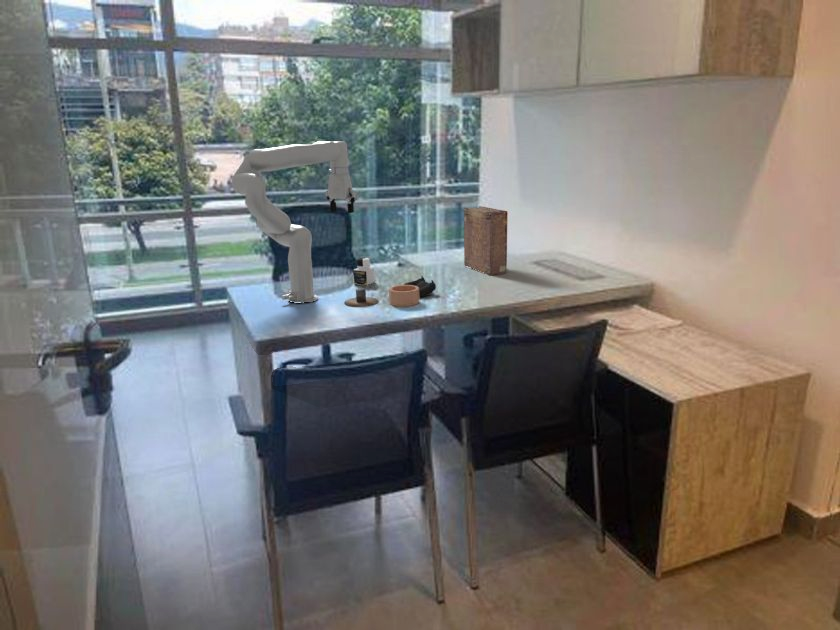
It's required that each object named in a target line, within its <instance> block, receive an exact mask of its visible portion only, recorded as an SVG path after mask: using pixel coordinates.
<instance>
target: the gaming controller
mask: <svg viewBox="0 0 840 630" xmlns="http://www.w3.org/2000/svg"><path fill="white" fill-rule="evenodd" d="M430 281H431V282H428V281H427V280H426V279H425V278H424V276H423V275H421V278H418V279H416V280H413V281H408V282H405V283H404V284H403V285H414V286H417V287H419V299H421V298H425V297H427V296H429V295H430V294H432V293H433V292H434V291H435V290H436V288H437V285H436V283H435V281H433V280H432V279H431V280H430Z"/></svg>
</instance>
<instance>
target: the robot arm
mask: <svg viewBox="0 0 840 630" xmlns="http://www.w3.org/2000/svg"><path fill="white" fill-rule="evenodd" d="M348 157H349V156H348V144H347V142H346V141H343V140H341V141H340V140H337V141H325V140H324V141H321V140H320V141H316V142H313V143H312V144H289V145H288V144H287V145H283V146H277V147H269V148H255V149H252V150H251V151H250V152H249V153H248V154H247V155H246V156H245V158H244V159H243V161H242V163H241V164H240V165H239V167H238V169H237V170H236V172H234V174H233V176H232V177H231V186H232V188H233V191H234V192H235V193H237V194H238V195H239V194H240V195H245V203H246V207H247V210H248V211H249V213H250V214H251V215H252V216H253V217H254V218H255V219H256V224H257V226H258V229H260V230H261V231H262V232H263V233H264V234H266V236H268V237H269V238H271V239H273V240H274V241H275V242H276V243H278V244H279V245H282V246H284V247H288V248H289V250H288V255H287V263H288V264H287V265H288V275H289V285H290V290H288V293H286V294H283V295H281V299H282V300H283V301H284V300H287V301H288V300H289V301H292V302H301V303H302V304H304V303H303V302H310V303H313V301H314V302H316V301H317V300H319V296H318V295H317V294H315V291H314V290H315V288H314V276H313V275H314V274H313V263H312V243H313V235H312V233H311V231H310V230H309V229H308V228H307V227H306V226H304V225H299V224H293V223H292V222H291V219H290V217H289V215H287V213H285V211H283V210H282V209H280V208H279V207H277V206H276V205H275V204H273V203H272V202H271V200H269V198H268V197H267V193H266V191H267V190H266V182H265V180H264V179H265V178H263V176H261V173H262V172H274V171H275V172H276V171H279V170H285V169H289V168H291V169H292V168H297V167H304V166H308V165H315V164H321V163H326V162H327V163H328V162H329V164H330V165H329V170H328V171H329V172H330V174H329V176H328V177H329V178H328V184H327V185H328V188H327V189H328V190H325V192H324V194H325V197H326V199H327V200H328V203H329V205H330V212H331V213H334V212H335V213H336V212H337V210H338V209H337V202H336V200H346V201H347V205H346V206H347V213H348V214H353V213H354V212H355V208H354V203H355V202H356V200H357V197H358V192H357V191H355V190H353V185H352V183H353V182H352V180H351V176H350V172H349V158H348Z"/></svg>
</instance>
